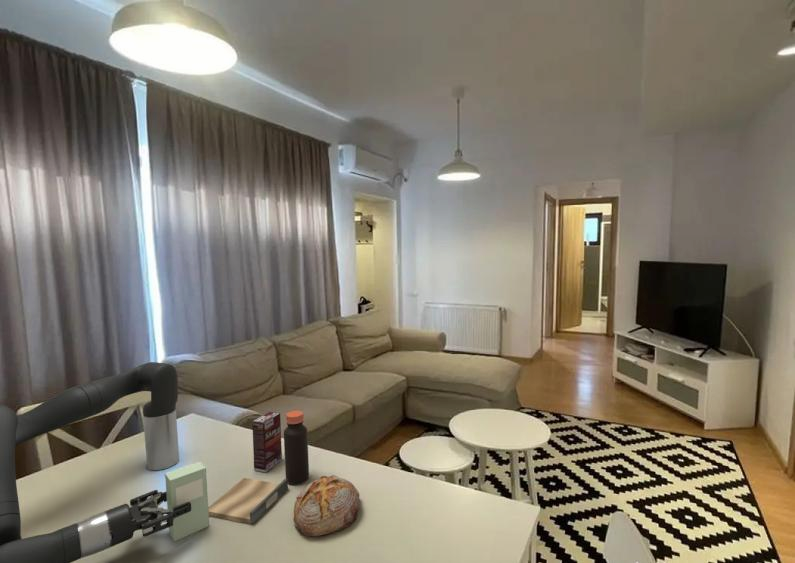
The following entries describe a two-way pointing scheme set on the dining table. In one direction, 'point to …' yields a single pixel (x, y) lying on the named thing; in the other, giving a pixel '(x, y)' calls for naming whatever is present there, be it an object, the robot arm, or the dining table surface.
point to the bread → (326, 506)
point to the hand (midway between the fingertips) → (185, 498)
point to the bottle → (296, 449)
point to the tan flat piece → (248, 500)
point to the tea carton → (188, 499)
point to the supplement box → (267, 441)
